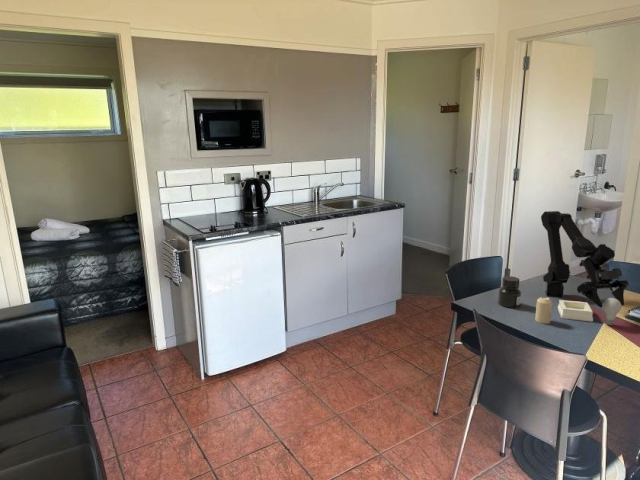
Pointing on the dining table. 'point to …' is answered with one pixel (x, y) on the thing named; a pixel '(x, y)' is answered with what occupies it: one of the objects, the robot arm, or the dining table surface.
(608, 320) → the lightbulb
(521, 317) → the dining table surface
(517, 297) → the ink bottle
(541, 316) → the candle
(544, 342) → the dining table surface
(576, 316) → the socket
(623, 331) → the dining table surface
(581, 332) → the dining table surface
